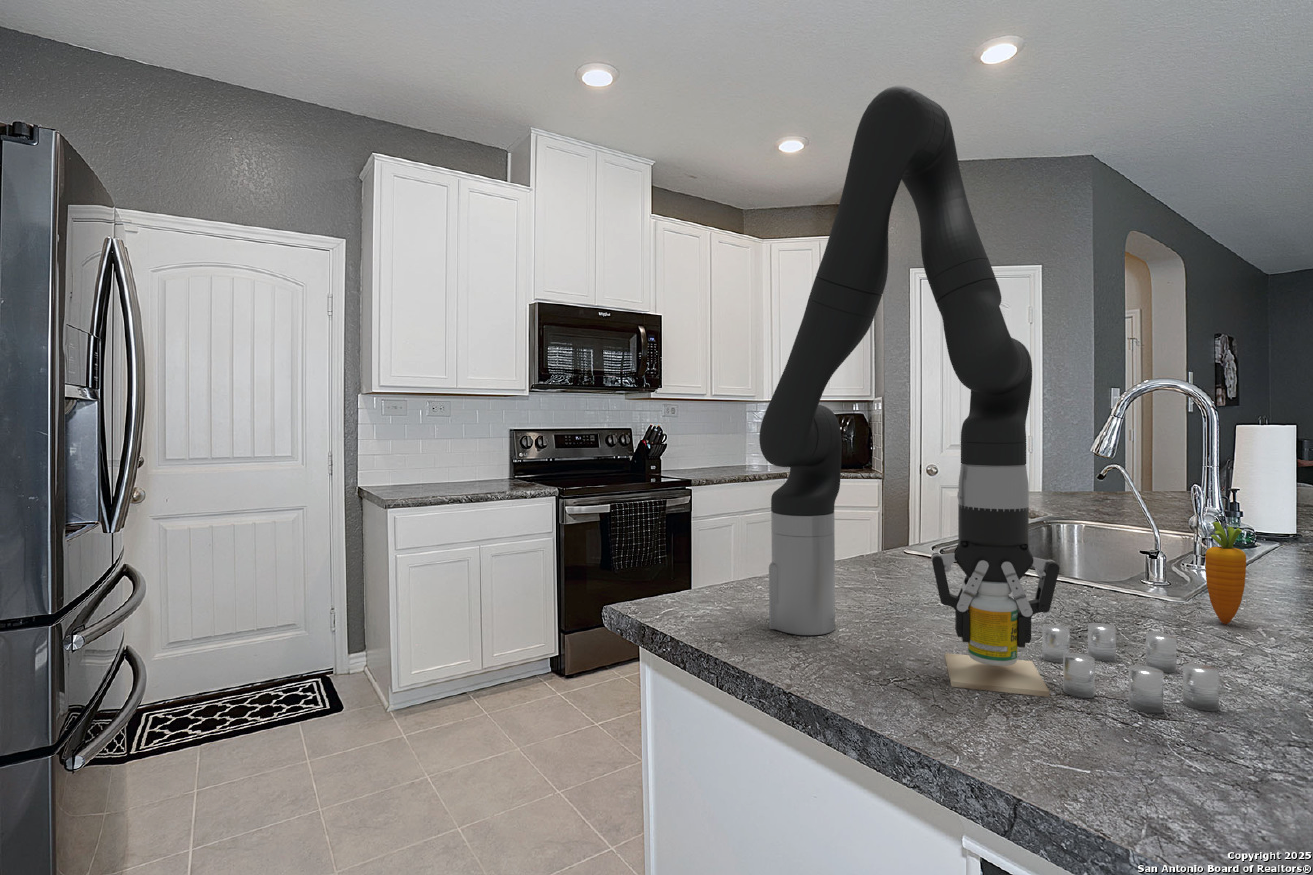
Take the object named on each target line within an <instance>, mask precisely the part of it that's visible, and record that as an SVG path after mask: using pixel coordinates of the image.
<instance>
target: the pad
mask: <svg viewBox="0 0 1313 875" xmlns="http://www.w3.org/2000/svg"><path fill="white" fill-rule="evenodd" d="M944 659H945V664H946V669H947V674H948V678H949V681H950V686H951V687H953V688H961V689H970V690H980V691H990V692H999V693H1005V694H1006V693H1009V694H1019V695H1026V696H1028V695H1029V696H1037V697H1046V698H1050V697H1051V696H1050V694H1051V692H1050V689H1048V688H1049V687H1047V685H1046V683H1045V681H1044V680H1043V678H1042V676H1041V674H1040V673H1039V671H1038V669H1037V667H1036V665H1035V664H1034V662H1033V660H1023V659H1017V661H1016V663H1014V664H1012V665H1009V666H993V665H986V664H983V663H980V662H977V661H975V660H973V659H972V658H971V657H970V656H969V655H968V654H959V653H947V652H945V653H944Z"/></svg>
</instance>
